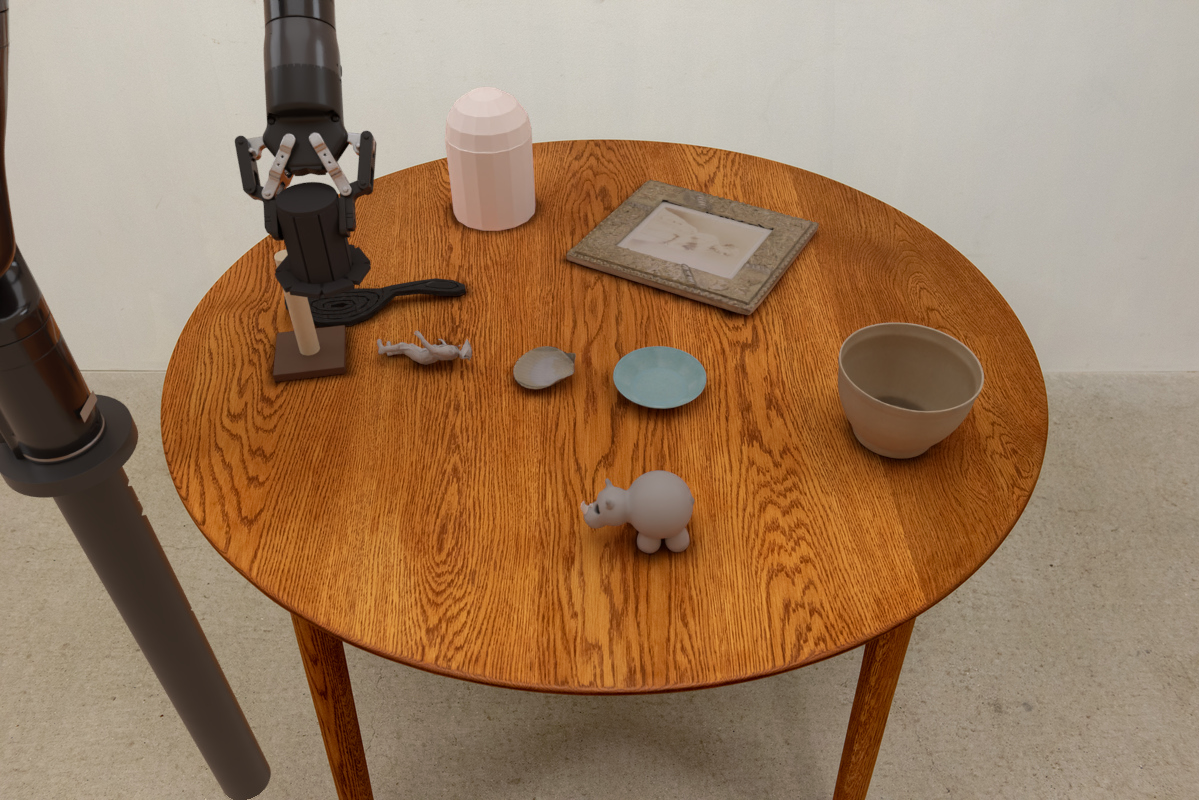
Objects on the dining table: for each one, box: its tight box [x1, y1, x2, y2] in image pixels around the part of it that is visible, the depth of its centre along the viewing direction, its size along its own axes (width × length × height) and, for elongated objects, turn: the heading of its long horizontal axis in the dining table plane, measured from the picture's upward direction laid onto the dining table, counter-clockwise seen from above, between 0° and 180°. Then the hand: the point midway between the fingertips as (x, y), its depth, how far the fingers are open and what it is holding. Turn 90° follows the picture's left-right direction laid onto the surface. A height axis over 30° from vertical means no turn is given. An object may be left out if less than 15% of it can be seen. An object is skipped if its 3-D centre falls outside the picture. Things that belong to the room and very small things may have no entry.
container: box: [444, 86, 536, 232], centre depth 147 cm, size 14×13×20 cm
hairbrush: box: [283, 277, 467, 328], centre depth 133 cm, size 8×4×25 cm
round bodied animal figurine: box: [580, 469, 696, 554], centre depth 100 cm, size 7×12×8 cm, turn 90°
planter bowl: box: [837, 322, 985, 459], centre depth 112 cm, size 16×16×11 cm
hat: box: [274, 181, 372, 299], centre depth 97 cm, size 10×10×9 cm
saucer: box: [612, 345, 707, 410], centre depth 120 cm, size 12×12×2 cm
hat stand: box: [272, 249, 347, 383], centre depth 121 cm, size 9×9×16 cm
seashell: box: [512, 345, 577, 390], centre depth 122 cm, size 8×3×8 cm
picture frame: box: [565, 179, 820, 316], centre depth 145 cm, size 27×30×3 cm
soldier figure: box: [376, 330, 473, 366], centre depth 124 cm, size 8×5×12 cm
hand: (311, 237), depth 96 cm, fingers closed on hat, 6 cm apart
